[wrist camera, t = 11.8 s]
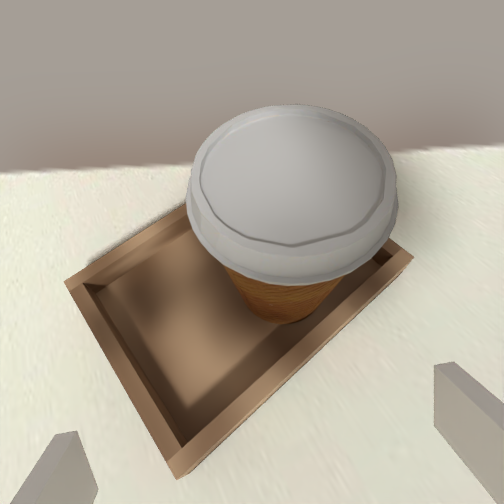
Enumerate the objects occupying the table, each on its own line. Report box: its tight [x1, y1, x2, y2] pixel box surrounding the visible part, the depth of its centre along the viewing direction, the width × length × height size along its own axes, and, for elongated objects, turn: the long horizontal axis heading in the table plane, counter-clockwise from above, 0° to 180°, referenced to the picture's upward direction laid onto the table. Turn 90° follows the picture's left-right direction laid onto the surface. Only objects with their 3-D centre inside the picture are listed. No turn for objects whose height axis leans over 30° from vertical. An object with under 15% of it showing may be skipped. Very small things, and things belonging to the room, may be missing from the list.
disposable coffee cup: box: [186, 104, 398, 324], centre depth 18 cm, size 10×10×12 cm
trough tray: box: [64, 203, 414, 480], centre depth 23 cm, size 20×15×3 cm
